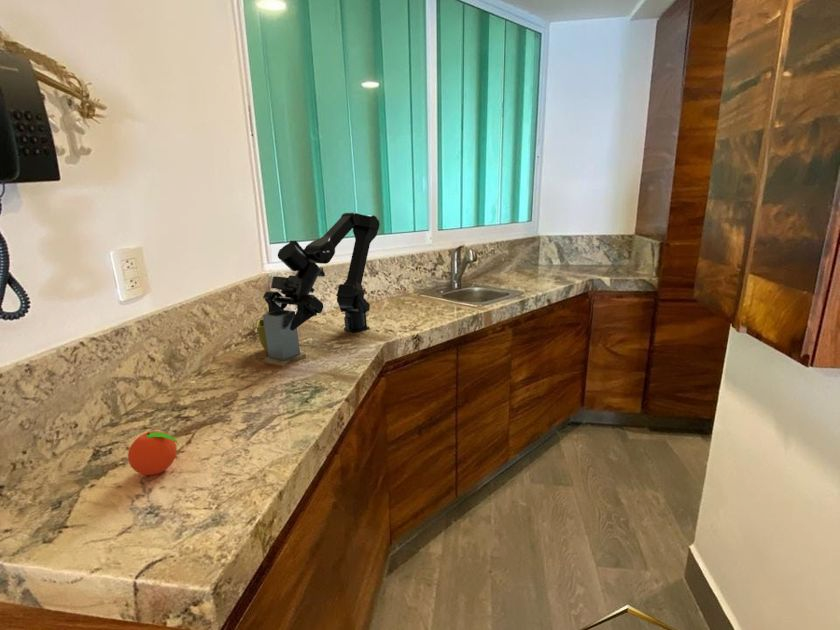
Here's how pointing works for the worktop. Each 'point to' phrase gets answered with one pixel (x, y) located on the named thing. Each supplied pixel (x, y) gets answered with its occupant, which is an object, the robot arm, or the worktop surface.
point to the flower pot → (262, 334)
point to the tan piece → (284, 363)
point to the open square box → (281, 335)
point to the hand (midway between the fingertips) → (279, 328)
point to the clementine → (152, 453)
